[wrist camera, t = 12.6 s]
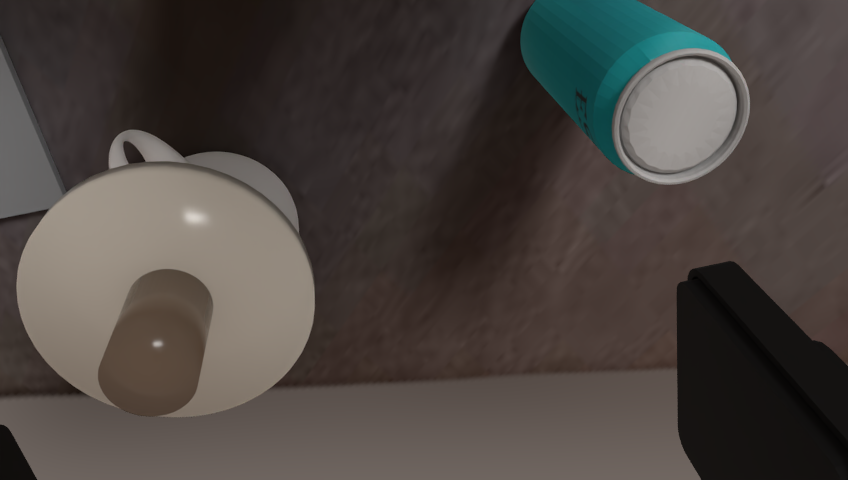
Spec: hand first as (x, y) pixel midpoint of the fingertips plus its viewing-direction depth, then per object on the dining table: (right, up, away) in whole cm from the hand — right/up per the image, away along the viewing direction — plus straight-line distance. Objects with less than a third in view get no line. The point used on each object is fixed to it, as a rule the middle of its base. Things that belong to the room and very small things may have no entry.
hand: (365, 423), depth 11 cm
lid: (-10, 0, +23) cm, 25 cm away
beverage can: (+8, +14, +31) cm, 35 cm away
